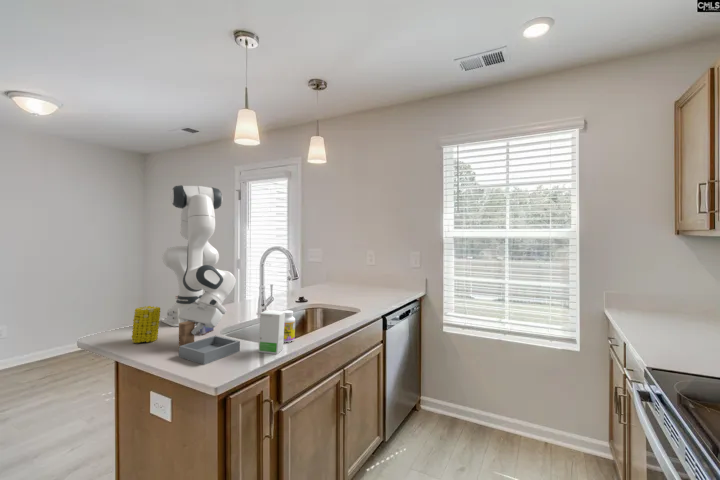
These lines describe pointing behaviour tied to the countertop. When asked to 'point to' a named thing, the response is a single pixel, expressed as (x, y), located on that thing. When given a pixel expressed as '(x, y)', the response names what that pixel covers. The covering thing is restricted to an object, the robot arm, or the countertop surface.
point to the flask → (205, 330)
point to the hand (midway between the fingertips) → (187, 332)
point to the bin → (209, 349)
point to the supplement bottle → (289, 326)
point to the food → (145, 324)
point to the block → (186, 332)
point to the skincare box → (271, 331)
